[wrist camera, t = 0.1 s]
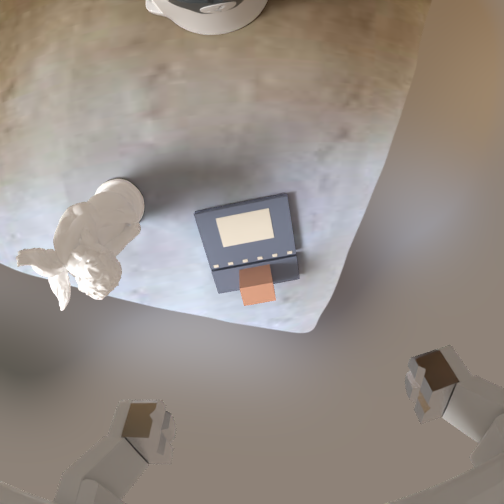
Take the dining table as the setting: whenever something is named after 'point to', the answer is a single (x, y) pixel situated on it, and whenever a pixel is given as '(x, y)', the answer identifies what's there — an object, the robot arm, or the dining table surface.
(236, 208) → the grey notebook
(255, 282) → the stub
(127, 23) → the dining table surface
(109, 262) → the white tall statuette
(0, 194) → the dining table surface
